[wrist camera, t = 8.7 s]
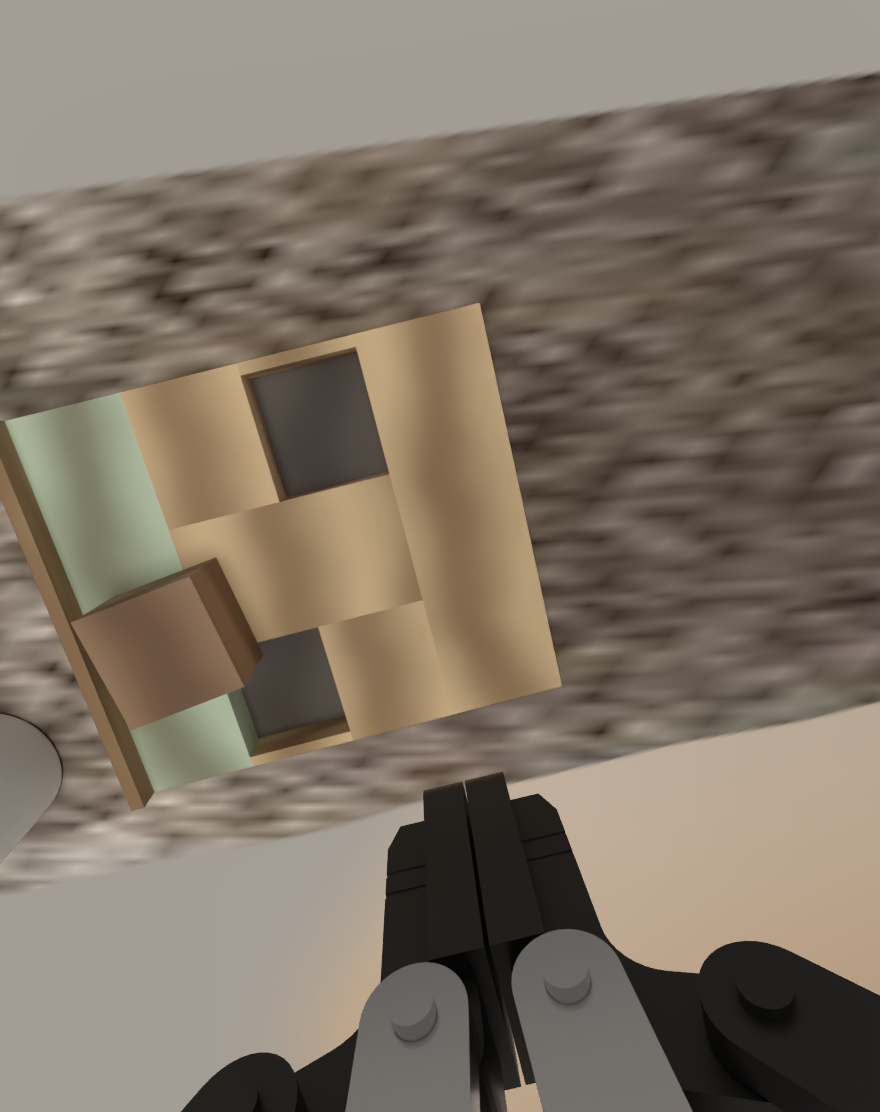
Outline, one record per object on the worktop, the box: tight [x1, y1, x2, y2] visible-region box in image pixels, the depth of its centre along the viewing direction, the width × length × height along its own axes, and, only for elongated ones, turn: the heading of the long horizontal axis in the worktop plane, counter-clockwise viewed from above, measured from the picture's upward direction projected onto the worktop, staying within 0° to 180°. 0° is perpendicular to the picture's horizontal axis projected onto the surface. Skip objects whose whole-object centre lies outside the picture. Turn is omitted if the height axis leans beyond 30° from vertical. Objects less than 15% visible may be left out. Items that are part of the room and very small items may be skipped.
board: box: [0, 303, 562, 811], centre depth 27 cm, size 21×18×3 cm
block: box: [71, 557, 263, 730], centre depth 25 cm, size 5×5×4 cm
